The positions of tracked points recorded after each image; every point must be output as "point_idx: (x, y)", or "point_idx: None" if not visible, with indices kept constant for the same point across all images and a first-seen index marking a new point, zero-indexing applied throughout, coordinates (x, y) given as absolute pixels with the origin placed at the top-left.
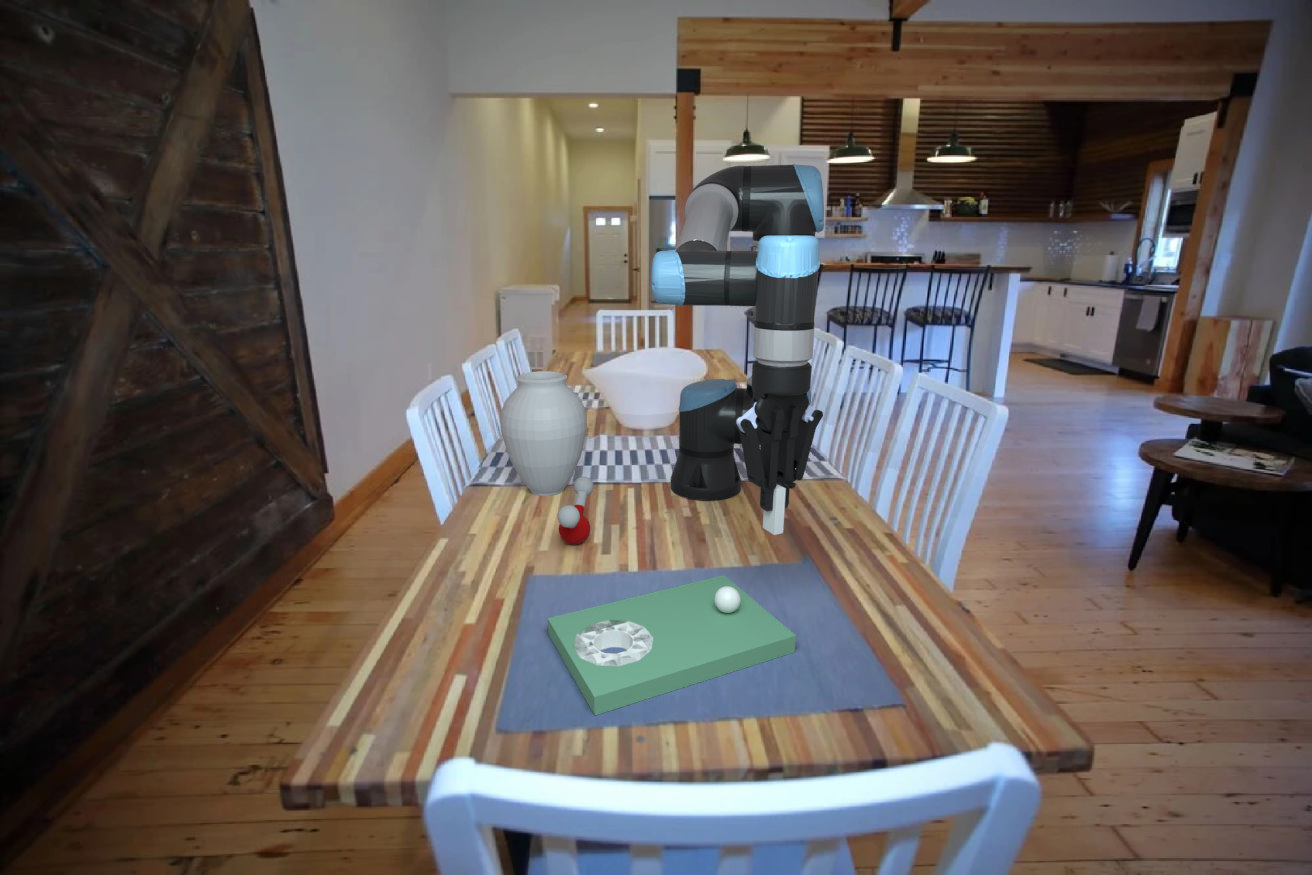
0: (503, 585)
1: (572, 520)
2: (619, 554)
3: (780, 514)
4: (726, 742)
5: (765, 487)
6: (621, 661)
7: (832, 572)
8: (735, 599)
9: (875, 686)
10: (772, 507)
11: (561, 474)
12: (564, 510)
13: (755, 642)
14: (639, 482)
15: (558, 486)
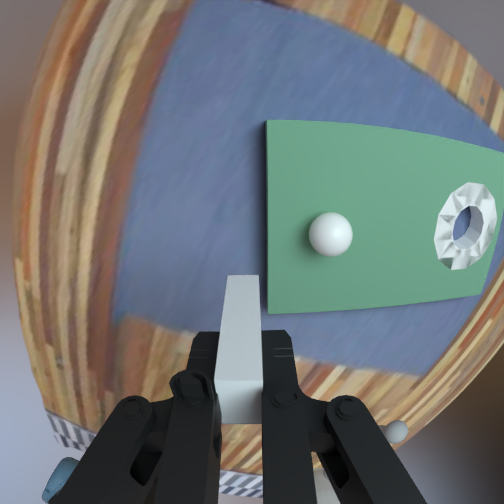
0: (445, 365)
1: (399, 425)
2: (332, 394)
3: (238, 310)
4: (426, 44)
5: (306, 399)
6: (478, 190)
7: (98, 277)
8: (331, 218)
9: (210, 22)
10: (261, 337)
11: (315, 484)
12: (405, 436)
13: (336, 134)
14: (230, 471)
15: (314, 475)
